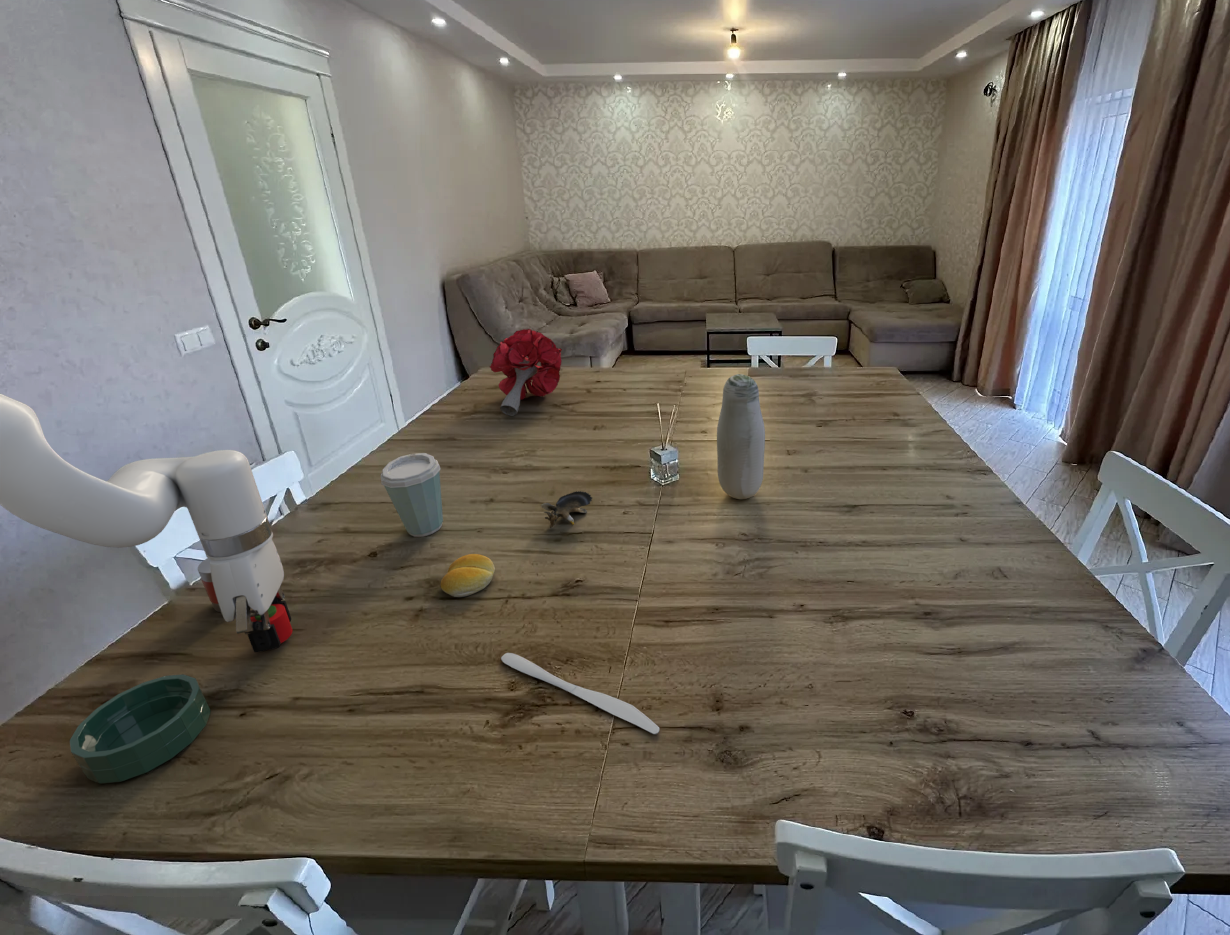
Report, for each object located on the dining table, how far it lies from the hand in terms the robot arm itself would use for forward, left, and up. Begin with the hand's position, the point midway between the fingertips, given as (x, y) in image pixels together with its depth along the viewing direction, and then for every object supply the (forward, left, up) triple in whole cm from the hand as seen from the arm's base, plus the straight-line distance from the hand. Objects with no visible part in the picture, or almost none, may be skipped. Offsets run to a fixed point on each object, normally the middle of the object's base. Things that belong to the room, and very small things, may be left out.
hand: (273, 635), depth 85 cm
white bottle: (+58, +62, -1) cm, 85 cm away
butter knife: (+49, +5, -1) cm, 50 cm away
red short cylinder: (0, 0, 0) cm, 0 cm away
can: (-16, +5, -1) cm, 17 cm away
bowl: (+1, -17, -1) cm, 17 cm away
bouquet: (-23, +100, -1) cm, 103 cm away
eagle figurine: (+26, +42, -2) cm, 50 cm away
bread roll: (+19, +20, -1) cm, 28 cm away
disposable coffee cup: (-1, +31, -1) cm, 31 cm away
